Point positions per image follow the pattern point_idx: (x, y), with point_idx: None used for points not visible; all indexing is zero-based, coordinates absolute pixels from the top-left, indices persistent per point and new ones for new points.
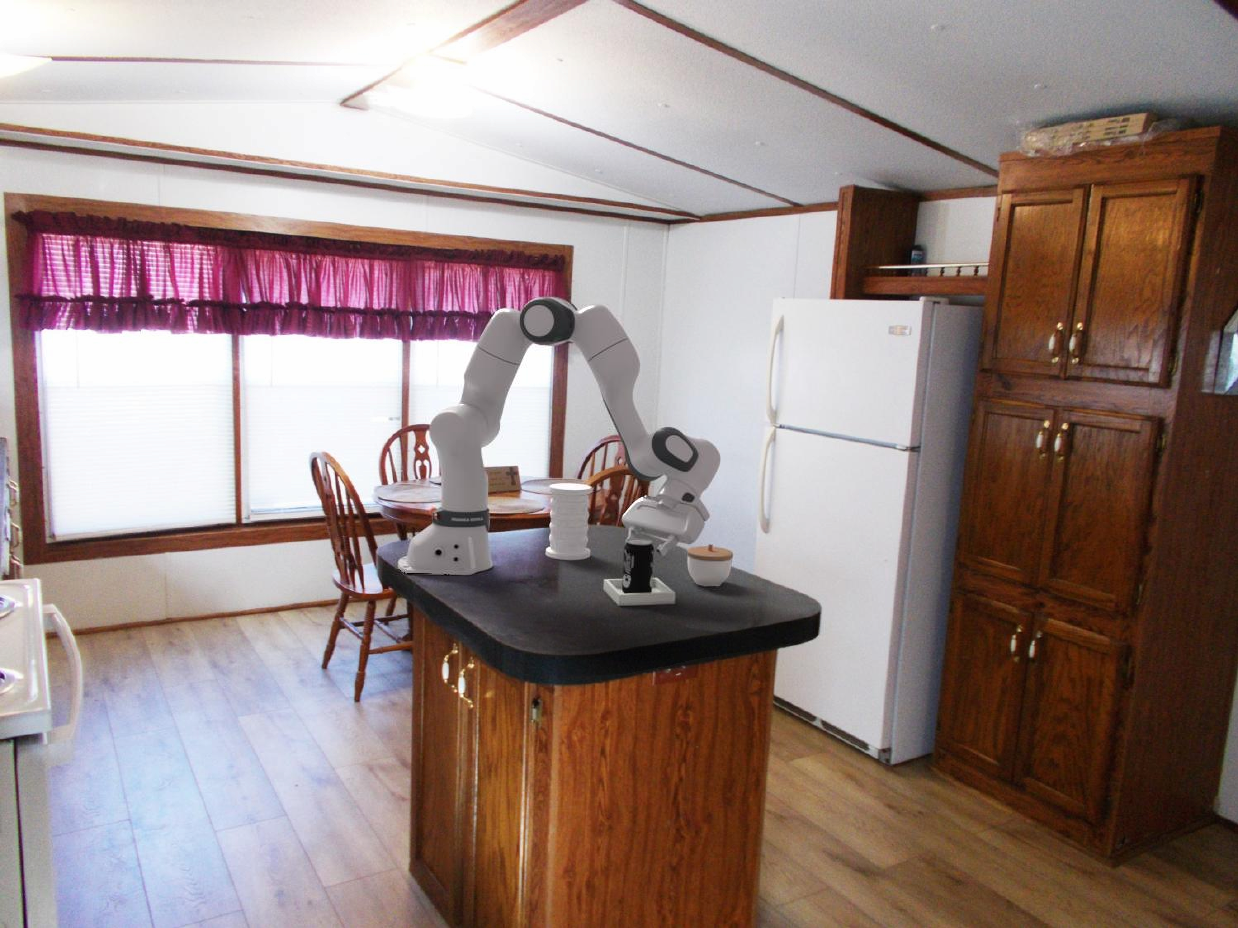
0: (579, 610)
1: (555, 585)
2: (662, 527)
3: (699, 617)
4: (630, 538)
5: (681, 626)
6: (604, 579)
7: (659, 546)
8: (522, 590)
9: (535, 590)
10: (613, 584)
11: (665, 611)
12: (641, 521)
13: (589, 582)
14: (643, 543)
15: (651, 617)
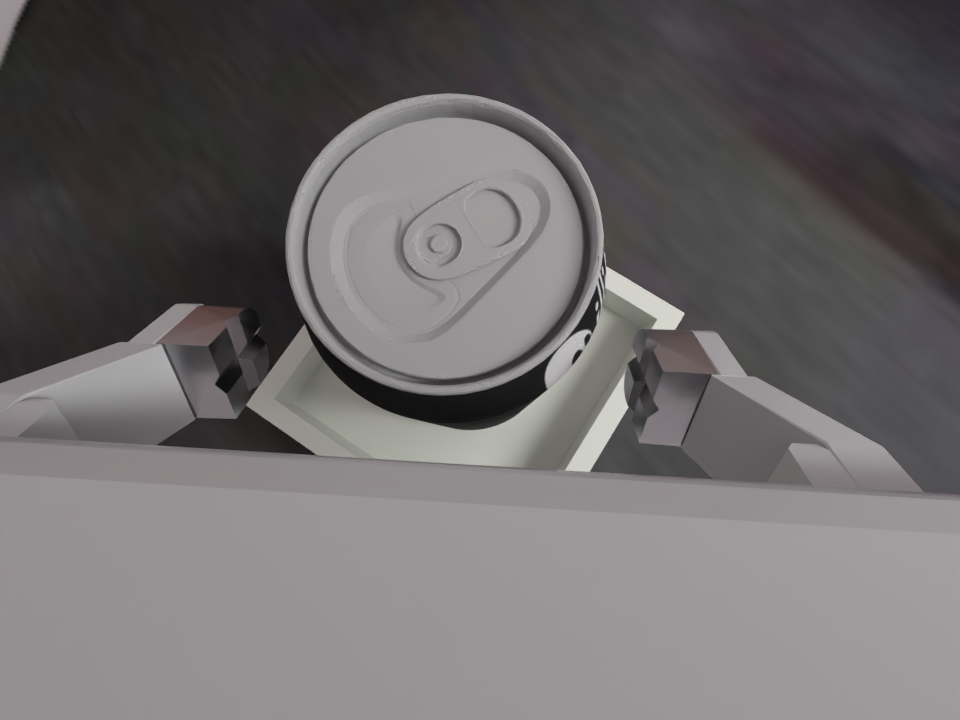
0: (497, 30)
1: (857, 208)
2: (95, 475)
3: (78, 324)
4: (600, 248)
5: (76, 172)
6: (680, 313)
7: (208, 325)
8: (870, 47)
9: (838, 87)
10: (633, 350)
11: (237, 280)
12: (765, 543)
13: (808, 375)
14: (392, 257)
15: (232, 172)
